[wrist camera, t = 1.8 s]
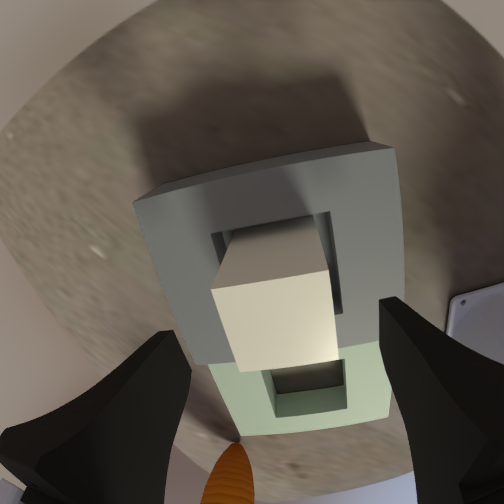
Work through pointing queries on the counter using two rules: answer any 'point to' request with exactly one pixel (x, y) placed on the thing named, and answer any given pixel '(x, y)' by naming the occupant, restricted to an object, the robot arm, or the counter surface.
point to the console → (336, 254)
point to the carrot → (230, 479)
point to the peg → (276, 297)
